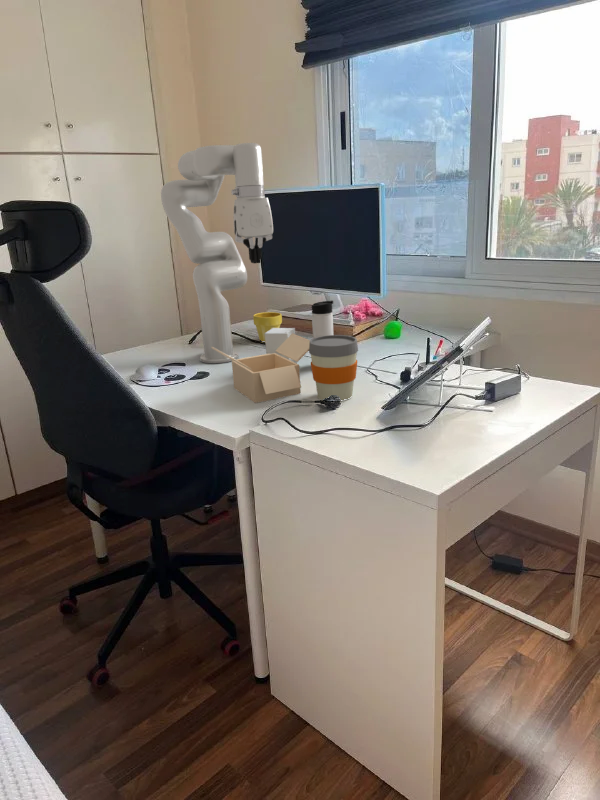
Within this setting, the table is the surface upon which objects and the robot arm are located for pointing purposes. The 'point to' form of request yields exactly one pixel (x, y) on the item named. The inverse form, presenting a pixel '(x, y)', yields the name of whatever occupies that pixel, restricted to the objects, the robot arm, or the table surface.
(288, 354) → the flap
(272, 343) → the supplement box
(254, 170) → the robot arm
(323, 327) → the travel mug
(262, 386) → the carton
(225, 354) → the flap
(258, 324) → the plant pot
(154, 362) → the table surface
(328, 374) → the reusable coffee cup
